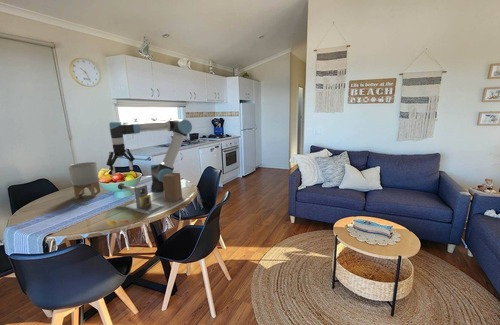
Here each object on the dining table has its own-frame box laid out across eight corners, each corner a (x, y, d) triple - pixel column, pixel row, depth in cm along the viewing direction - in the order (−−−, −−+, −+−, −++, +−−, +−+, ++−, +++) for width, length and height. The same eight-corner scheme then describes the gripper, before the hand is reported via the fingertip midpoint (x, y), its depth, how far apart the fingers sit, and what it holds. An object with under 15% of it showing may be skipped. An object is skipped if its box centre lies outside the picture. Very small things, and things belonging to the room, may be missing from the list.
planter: (82, 200, 187) (75, 168, 182) (69, 196, 197) (63, 166, 191) (106, 193, 203) (101, 163, 197) (93, 189, 213) (88, 161, 207)
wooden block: (176, 201, 181) (174, 176, 177) (164, 201, 183) (161, 175, 179) (182, 197, 191) (180, 172, 186) (171, 196, 193) (168, 172, 188)
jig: (164, 206, 173) (162, 185, 169) (147, 214, 161) (144, 192, 157) (142, 201, 184) (140, 181, 181) (125, 207, 173) (122, 186, 169)
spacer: (151, 204, 174) (150, 194, 173) (142, 208, 168) (140, 197, 166) (149, 203, 175) (148, 193, 174) (140, 207, 169) (139, 197, 167)
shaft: (144, 193, 173) (144, 187, 172) (138, 195, 169) (138, 189, 168) (124, 188, 185) (123, 182, 184) (118, 190, 181) (117, 184, 180)
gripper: (130, 140, 185) (134, 167, 190) (97, 146, 164) (102, 175, 169) (137, 141, 181) (141, 168, 186) (103, 146, 160) (109, 177, 165)
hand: (122, 172), depth 178 cm, fingers open, 13 cm apart
